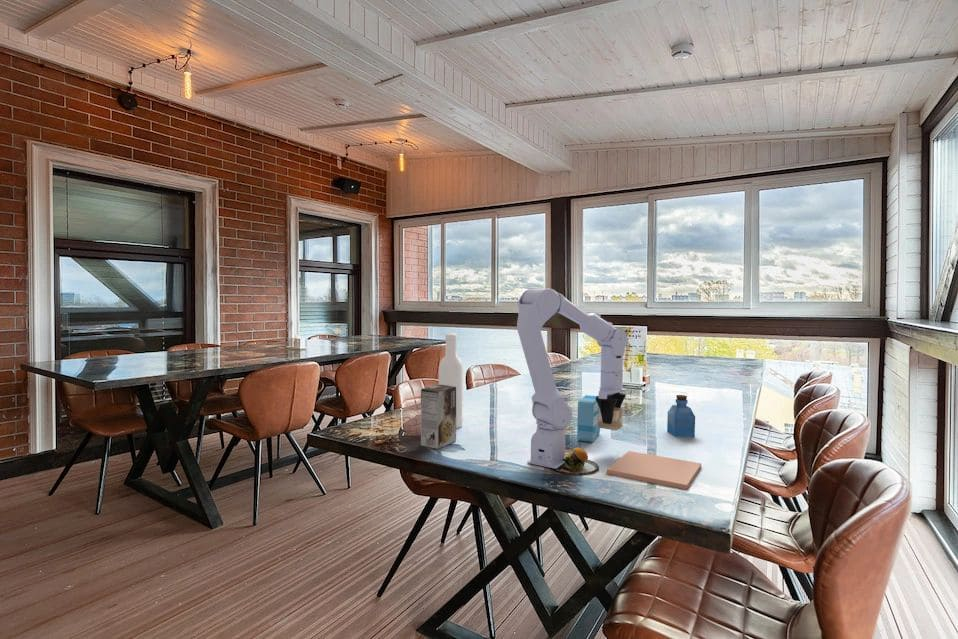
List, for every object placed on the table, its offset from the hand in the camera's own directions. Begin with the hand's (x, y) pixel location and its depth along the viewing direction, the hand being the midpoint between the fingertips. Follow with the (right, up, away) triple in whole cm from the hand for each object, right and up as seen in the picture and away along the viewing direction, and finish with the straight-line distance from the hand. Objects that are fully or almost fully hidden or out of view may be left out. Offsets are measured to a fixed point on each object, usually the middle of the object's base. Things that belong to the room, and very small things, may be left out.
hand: (610, 421), depth 137 cm
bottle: (-45, -7, +27) cm, 53 cm away
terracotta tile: (+7, -9, -14) cm, 18 cm away
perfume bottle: (+27, -8, +20) cm, 35 cm away
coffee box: (-47, -8, +7) cm, 48 cm away
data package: (-3, -8, +15) cm, 17 cm away
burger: (-12, -10, -12) cm, 20 cm away
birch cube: (0, -2, 0) cm, 2 cm away
